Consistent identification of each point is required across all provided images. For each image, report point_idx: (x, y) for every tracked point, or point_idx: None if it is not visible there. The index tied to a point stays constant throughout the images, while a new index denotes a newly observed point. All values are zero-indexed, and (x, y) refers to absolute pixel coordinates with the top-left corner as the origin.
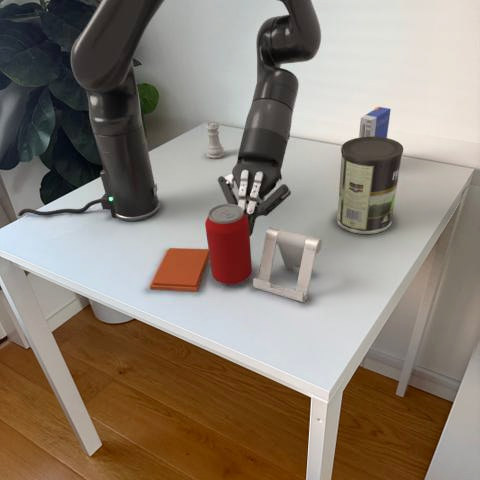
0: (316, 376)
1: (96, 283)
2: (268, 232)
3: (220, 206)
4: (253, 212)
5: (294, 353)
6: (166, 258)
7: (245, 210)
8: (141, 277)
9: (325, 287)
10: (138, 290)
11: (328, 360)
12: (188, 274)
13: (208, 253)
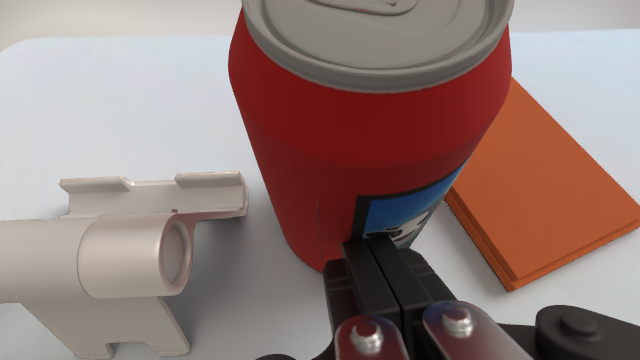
0: (31, 46)
1: (629, 42)
2: (157, 217)
3: (486, 29)
4: (335, 339)
5: (82, 69)
6: (587, 161)
7: (426, 353)
8: (567, 99)
9: (24, 308)
10: (520, 65)
11: (9, 81)
12: None
13: (500, 260)
